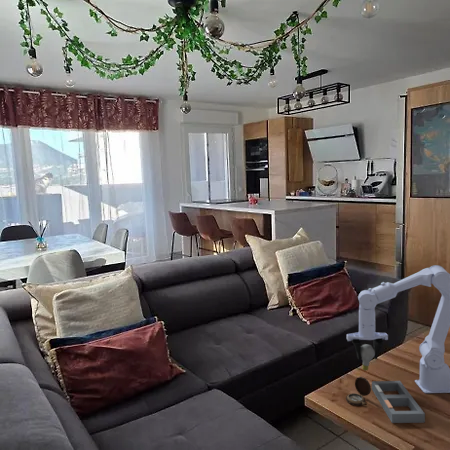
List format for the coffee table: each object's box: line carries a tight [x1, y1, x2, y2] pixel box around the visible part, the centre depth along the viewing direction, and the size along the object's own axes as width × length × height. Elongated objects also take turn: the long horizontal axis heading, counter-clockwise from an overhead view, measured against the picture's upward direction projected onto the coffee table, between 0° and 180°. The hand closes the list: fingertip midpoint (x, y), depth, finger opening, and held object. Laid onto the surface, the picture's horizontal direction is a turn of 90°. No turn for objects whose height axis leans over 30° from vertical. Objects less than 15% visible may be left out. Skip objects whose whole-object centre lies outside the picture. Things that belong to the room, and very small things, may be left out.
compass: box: [345, 376, 372, 407], centre depth 132 cm, size 8×8×7 cm
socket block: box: [371, 380, 426, 424], centre depth 129 cm, size 10×19×3 cm, turn 177°
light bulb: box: [361, 343, 375, 372], centre depth 143 cm, size 6×6×10 cm
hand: (367, 358), depth 143 cm, fingers closed on light bulb, 5 cm apart
